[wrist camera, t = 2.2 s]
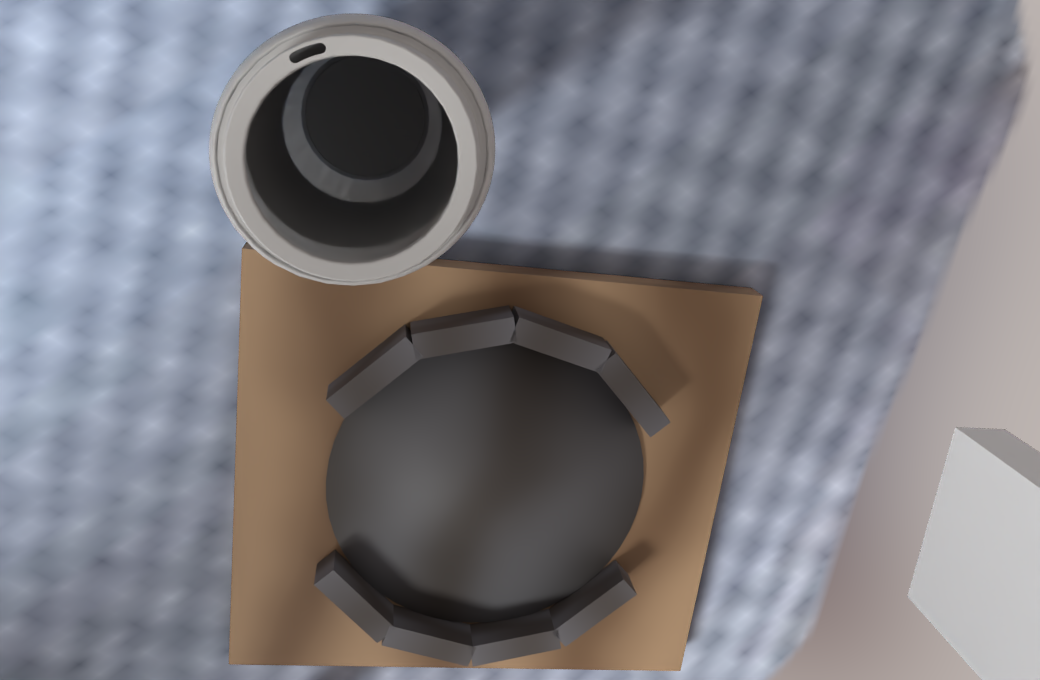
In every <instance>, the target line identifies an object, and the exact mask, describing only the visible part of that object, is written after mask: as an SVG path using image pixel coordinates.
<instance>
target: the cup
mask: <svg viewBox="0 0 1040 680" xmlns="http://www.w3.org/2000/svg"><path fill="white" fill-rule="evenodd" d="M209 161H210V169H211V175H212V180H213V184H214V187H215V190H216V193H217V196H218V198H219V201H220V203H221V205H222V207H223V209H224V211H225V213H226V215H227V217H228V218H229V220H230V221H231V223H232V224H233V226H234V228H235V229H236V230H237V231H238V232H239V234H240V235H241V236H242V237H243V238H244V239H245V240H246V241H247V242H248V243H249V244H250V246H251V247H252V248H253V249H255V250H256V251H257V252H258V253H259V254H261V255H262V256H263V257H264V258H266V259H267V260H269V261H270V262H272V263H273V264H275V265H277V266H279V267H281V268H283V269H285V270H287V271H289V272H291V273H293V274H295V275H298V276H300V277H303V278H307V279H311V280H314V281H318V282H322V283H326V284H337V285H351V286H356V285H367V284H376V283H382V282H385V281H389V280H393V279H396V278H399V277H403V276H405V275H407V274H410V273H412V272H414V271H417V270H419V269H421V268H423V267H425V266H427V265H428V264H430V263H431V262H433V261H434V260H436V259H437V258H439V257H440V256H441V255H442V254H444V253H445V252H446V251H447V250H449V249H450V248H451V247H452V246H453V245H454V244H455V243H456V242H457V241H458V240H459V239H460V238H461V237H462V236H463V234H464V233H465V232H466V231H467V229H468V228H469V227H470V225H471V224H472V223H473V221H474V220H475V218H476V216H477V215H478V213H479V211H480V209H481V207H482V205H483V203H484V201H485V198H486V196H487V193H488V190H489V187H490V184H491V180H492V175H493V170H494V162H495V136H494V128H493V123H492V118H491V115H490V111H489V108H488V105H487V102H486V100H485V98H484V95H483V93H482V91H481V89H480V87H479V85H478V84H477V82H476V80H475V79H474V77H473V76H472V74H471V73H470V71H469V70H468V69H467V68H466V66H465V65H464V64H463V63H462V62H461V60H460V59H459V58H458V57H457V56H456V55H455V54H454V53H453V52H451V51H450V50H449V49H448V48H447V47H446V46H444V45H443V44H442V43H441V42H439V41H438V40H436V39H435V38H434V37H432V36H430V35H429V34H427V33H425V32H423V31H421V30H419V29H418V28H416V27H413V26H411V25H409V24H406V23H403V22H401V21H397V20H394V19H390V18H387V17H382V16H376V15H368V14H336V15H329V16H323V17H319V18H315V19H311V20H308V21H305V22H302V23H299V24H296V25H294V26H292V27H290V28H287V29H285V30H283V31H282V32H280V33H278V34H276V35H275V36H273V37H271V38H270V39H268V40H267V41H266V42H264V43H263V44H262V45H260V46H259V47H258V48H257V49H256V50H254V51H253V52H252V53H251V54H250V55H249V56H248V57H247V58H246V59H245V60H244V61H243V63H242V64H241V65H240V66H239V67H238V69H237V70H236V71H235V72H234V74H233V75H232V77H231V78H230V80H229V81H228V83H227V85H226V87H225V88H224V90H223V92H222V95H221V97H220V99H219V101H218V104H217V107H216V110H215V113H214V116H213V120H212V125H211V131H210V139H209Z"/></svg>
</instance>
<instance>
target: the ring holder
mask: <svg viewBox="0 0 1040 680" xmlns="http://www.w3.org/2000/svg"><path fill="white" fill-rule="evenodd" d="M762 298H763V296H762V295H761V294H759V293H758V292H757V291H755V290H754V289H752V288H747V287H737V286H726V285H715V284H704V283H693V282H683V281H672V280H661V279H650V278H639V277H628V276H618V275H607V274H596V273H585V272H574V271H564V270H553V269H542V268H531V267H520V266H510V265H499V264H488V263H477V262H466V261H456V260H445V259H436V260H434V261H433V262H431V263H430V264H428V265H427V266H425V267H423V268H421V269H419V270H417V271H414V272H412V273H410V274H407V275H405V276H403V277H399V278H396V279H393V280H389V281H385V282H382V283H376V284H367V285H356V286H351V285H337V284H326V283H322V282H318V281H314V280H311V279H307V278H303V277H300V276H298V275H295V274H293V273H291V272H289V271H287V270H285V269H283V268H281V267H279V266H277V265H275V264H273V263H272V262H270V261H269V260H267V259H266V258H264V257H263V256H262V255H261V254H259V253H258V252H257V251H256V250H255V249H253V248H252V247H251V246H250V244H249V243H248V242H246V244H245V245H244V247H243V248H242V267H241V298H240V329H239V361H238V392H237V423H236V455H235V486H234V517H233V549H232V580H231V611H230V643H229V664H242V665H311V666H380V667H449V668H518V669H587V670H656V671H680V669H681V665H682V660H683V656H684V651H685V647H686V642H687V638H688V633H689V629H690V624H691V620H692V615H693V610H694V606H695V601H696V597H697V592H698V588H699V583H700V579H701V574H702V570H703V565H704V561H705V556H706V552H707V547H708V543H709V538H710V534H711V529H712V524H713V520H714V515H715V511H716V506H717V502H718V497H719V493H720V488H721V484H722V479H723V475H724V470H725V466H726V461H727V457H728V452H729V447H730V443H731V438H732V434H733V429H734V425H735V420H736V416H737V411H738V407H739V402H740V398H741V393H742V389H743V384H744V380H745V375H746V370H747V366H748V361H749V357H750V352H751V348H752V343H753V339H754V334H755V330H756V325H757V321H758V316H759V312H760V307H761V303H762Z"/></svg>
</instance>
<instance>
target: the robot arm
mask: <svg viewBox="0 0 1040 680" xmlns="http://www.w3.org/2000/svg"><path fill="white" fill-rule="evenodd" d="M908 598H909V599H910V600H911V601H912V602H913V603H914V604H915V606H916V607H917V608H918V609H919V610H920V611H921V612H922V613H923V615H924V616H925V617H926V618H927V619H928V620H929V621H930V622H931V623H932V625H933V626H934V627H935V628H936V629H937V630H938V631H939V633H941V635H942V636H943V637H944V638H945V639H946V640H947V641H948V643H949V644H950V645H951V646H952V647H953V648H954V649H955V650H956V652H957V653H959V655H960V656H961V657H962V658H963V659H964V660H965V662H966V663H967V664H968V665H969V666H970V667H971V668H972V669H973V671H974V672H975V673H976V674H977V675H978V676H979V677H980V678H981V680H1040V452H1039V451H1037V450H1035V449H1034V448H1032V447H1031V446H1029V445H1028V444H1026V443H1025V442H1023V441H1022V440H1020V439H1019V438H1017V437H1016V436H1014V435H1013V434H1011V433H1010V432H1008V431H1007V430H1005V429H985V428H962V427H955V431H954V434H953V437H952V441H951V444H950V448H949V451H948V455H947V458H946V462H945V465H944V469H943V472H942V476H941V479H940V483H939V487H938V490H937V494H936V497H935V501H934V504H933V508H932V512H931V515H930V518H929V522H928V526H927V529H926V533H925V536H924V540H923V543H922V547H921V550H920V554H919V557H918V561H917V564H916V568H915V571H914V575H913V578H912V582H911V586H910V589H909V593H908Z"/></svg>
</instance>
